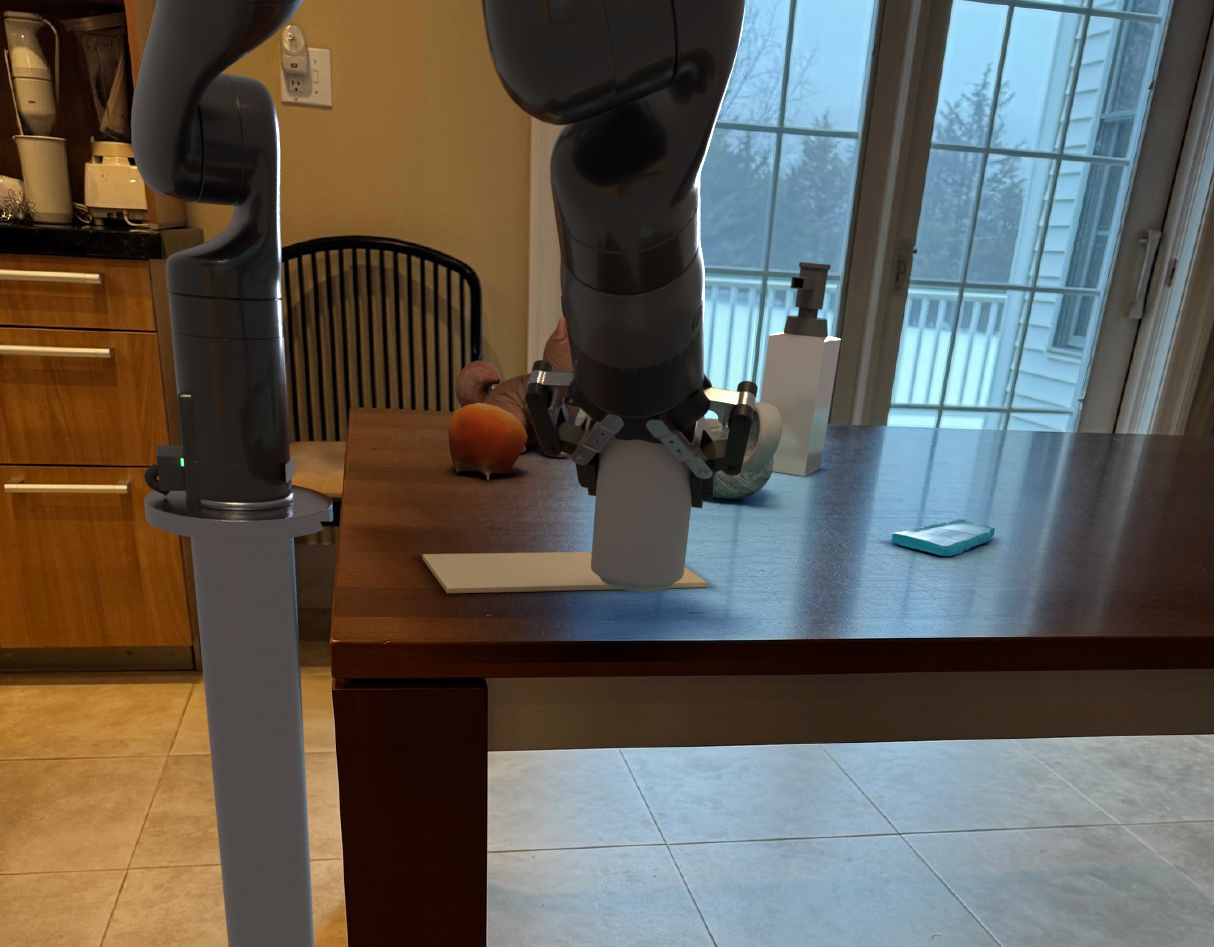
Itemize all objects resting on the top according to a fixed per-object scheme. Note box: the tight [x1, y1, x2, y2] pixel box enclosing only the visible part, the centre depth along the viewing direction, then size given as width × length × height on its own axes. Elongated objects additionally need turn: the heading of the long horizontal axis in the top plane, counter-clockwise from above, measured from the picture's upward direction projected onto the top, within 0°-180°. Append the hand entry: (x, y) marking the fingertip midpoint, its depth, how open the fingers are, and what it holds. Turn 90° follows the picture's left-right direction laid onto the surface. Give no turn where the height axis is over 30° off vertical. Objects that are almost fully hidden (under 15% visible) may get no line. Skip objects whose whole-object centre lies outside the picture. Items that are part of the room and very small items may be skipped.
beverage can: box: [591, 435, 692, 593], centre depth 75 cm, size 6×6×12 cm
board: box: [421, 551, 708, 594], centre depth 86 cm, size 20×9×1 cm, turn 109°
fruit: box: [447, 403, 528, 482], centre depth 116 cm, size 8×8×8 cm
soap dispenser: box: [759, 261, 842, 477], centre depth 128 cm, size 6×9×22 cm
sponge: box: [891, 519, 996, 557], centre depth 105 cm, size 2×12×6 cm
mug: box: [705, 402, 782, 500], centre depth 113 cm, size 10×12×10 cm
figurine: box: [454, 314, 581, 459], centre depth 129 cm, size 10×19×15 cm, turn 72°
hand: (647, 490), depth 76 cm, fingers closed on beverage can, 6 cm apart
